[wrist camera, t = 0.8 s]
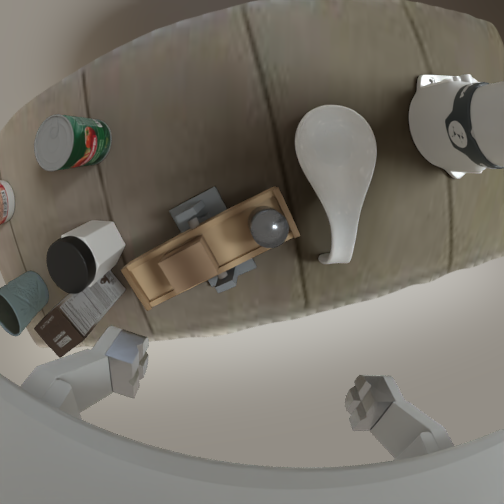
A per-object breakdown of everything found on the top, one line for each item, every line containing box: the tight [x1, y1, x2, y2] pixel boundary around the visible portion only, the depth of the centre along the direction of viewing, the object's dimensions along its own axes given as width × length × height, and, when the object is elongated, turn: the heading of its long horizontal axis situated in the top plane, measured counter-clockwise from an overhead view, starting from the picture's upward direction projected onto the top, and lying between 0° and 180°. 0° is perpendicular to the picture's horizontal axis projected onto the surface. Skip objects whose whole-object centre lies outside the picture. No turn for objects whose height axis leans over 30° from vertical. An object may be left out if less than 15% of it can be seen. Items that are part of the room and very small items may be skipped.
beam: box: [121, 186, 300, 311], centre depth 38 cm, size 24×9×3 cm, turn 116°
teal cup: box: [0, 271, 49, 336], centre depth 43 cm, size 10×10×12 cm
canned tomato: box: [34, 114, 112, 171], centre depth 33 cm, size 8×8×11 cm
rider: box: [158, 234, 219, 294], centre depth 36 cm, size 6×5×4 cm
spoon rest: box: [295, 105, 377, 264], centre depth 37 cm, size 24×12×7 cm, turn 5°
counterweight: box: [248, 206, 289, 248], centre depth 35 cm, size 4×4×5 cm
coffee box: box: [34, 270, 126, 357], centre depth 40 cm, size 9×6×16 cm
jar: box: [47, 220, 125, 294], centre depth 38 cm, size 9×8×12 cm
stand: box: [169, 187, 256, 293], centre depth 40 cm, size 8×14×6 cm, turn 26°
